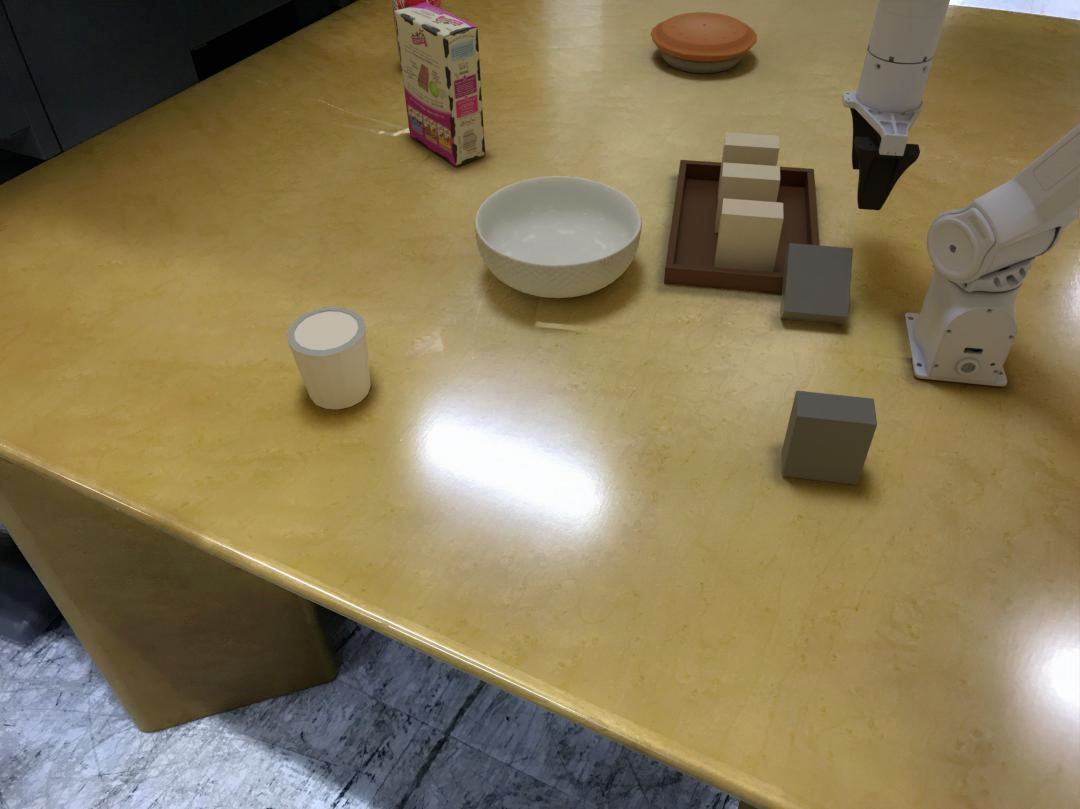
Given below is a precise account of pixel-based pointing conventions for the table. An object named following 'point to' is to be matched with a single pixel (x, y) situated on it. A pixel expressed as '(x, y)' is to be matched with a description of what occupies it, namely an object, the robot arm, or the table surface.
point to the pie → (703, 41)
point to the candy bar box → (442, 81)
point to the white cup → (332, 356)
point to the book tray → (698, 239)
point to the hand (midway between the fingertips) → (865, 187)
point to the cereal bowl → (558, 235)
